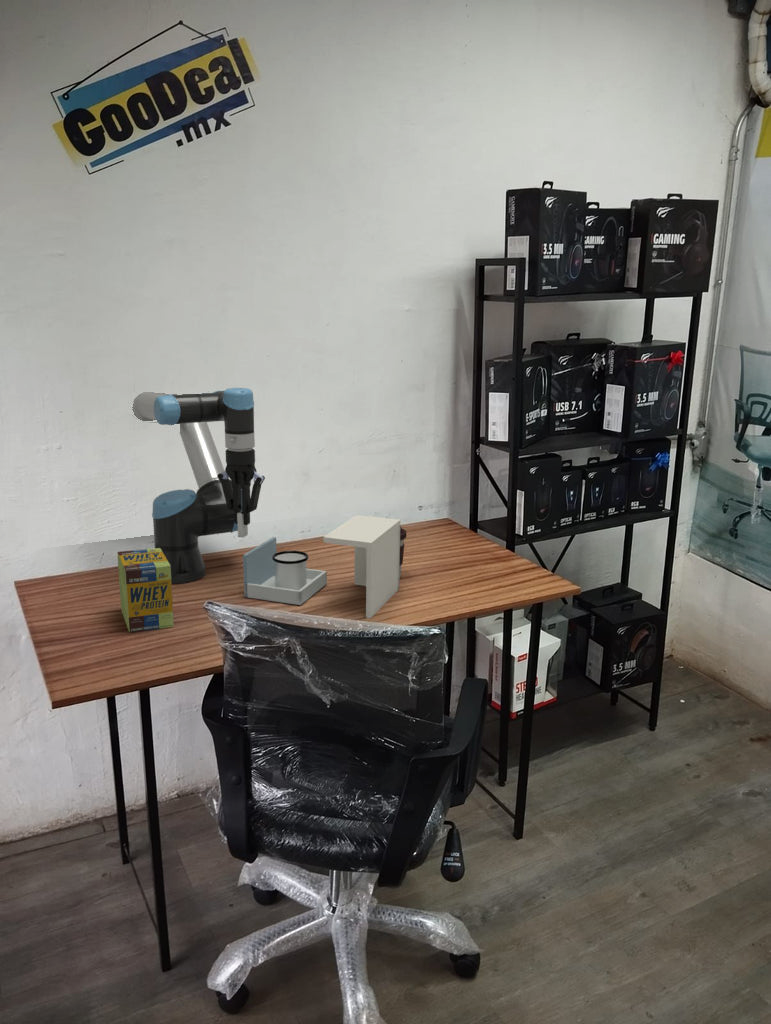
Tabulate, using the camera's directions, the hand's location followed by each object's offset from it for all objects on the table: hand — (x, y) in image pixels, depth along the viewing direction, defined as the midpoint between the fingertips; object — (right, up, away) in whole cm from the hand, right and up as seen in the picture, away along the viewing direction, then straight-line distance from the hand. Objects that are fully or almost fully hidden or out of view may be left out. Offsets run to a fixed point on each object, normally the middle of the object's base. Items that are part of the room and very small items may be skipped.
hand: (242, 535), depth 225 cm
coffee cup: (+39, -12, +12) cm, 42 cm away
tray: (+12, -15, 0) cm, 19 cm away
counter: (+32, -16, -5) cm, 36 cm away
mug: (+13, -14, -1) cm, 19 cm away
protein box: (-20, -20, -20) cm, 34 cm away
